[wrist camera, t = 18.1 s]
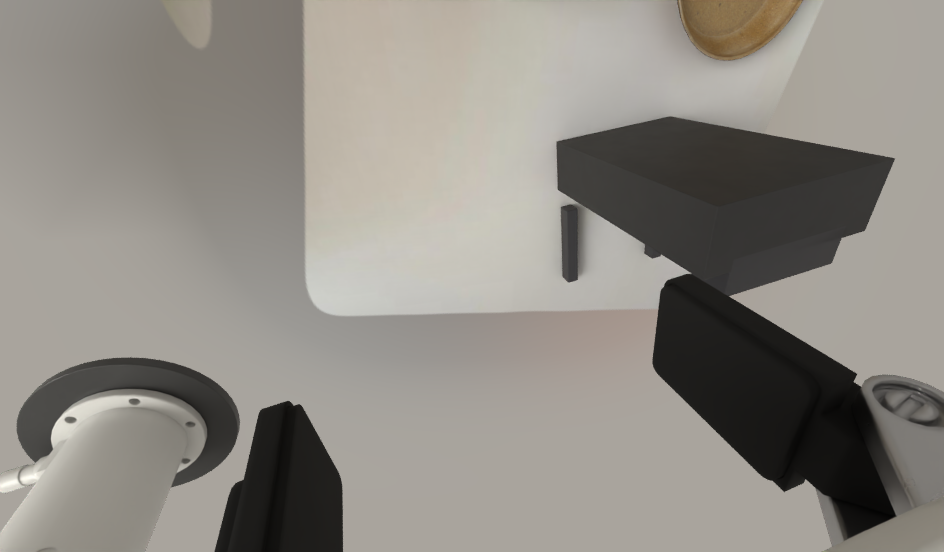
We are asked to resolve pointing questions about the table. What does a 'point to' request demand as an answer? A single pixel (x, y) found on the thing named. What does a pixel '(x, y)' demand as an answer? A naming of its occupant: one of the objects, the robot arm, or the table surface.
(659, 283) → the table surface
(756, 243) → the black box with legs
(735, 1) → the plant saucer
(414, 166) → the table surface
